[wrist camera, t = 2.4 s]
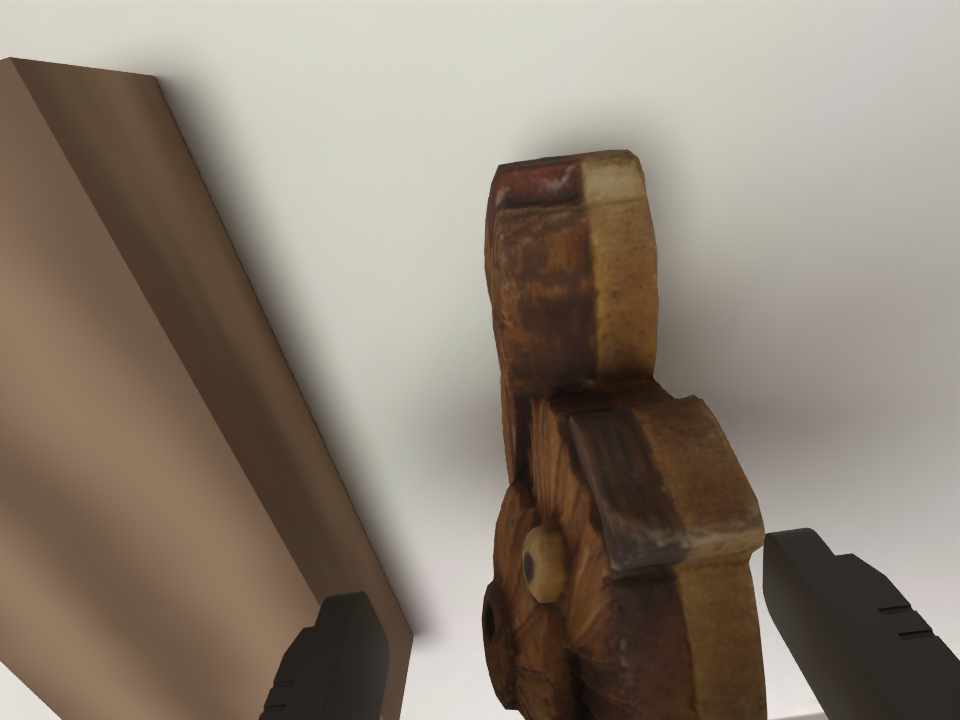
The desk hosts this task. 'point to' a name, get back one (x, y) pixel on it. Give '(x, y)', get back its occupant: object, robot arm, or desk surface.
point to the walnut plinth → (149, 427)
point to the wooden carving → (607, 472)
